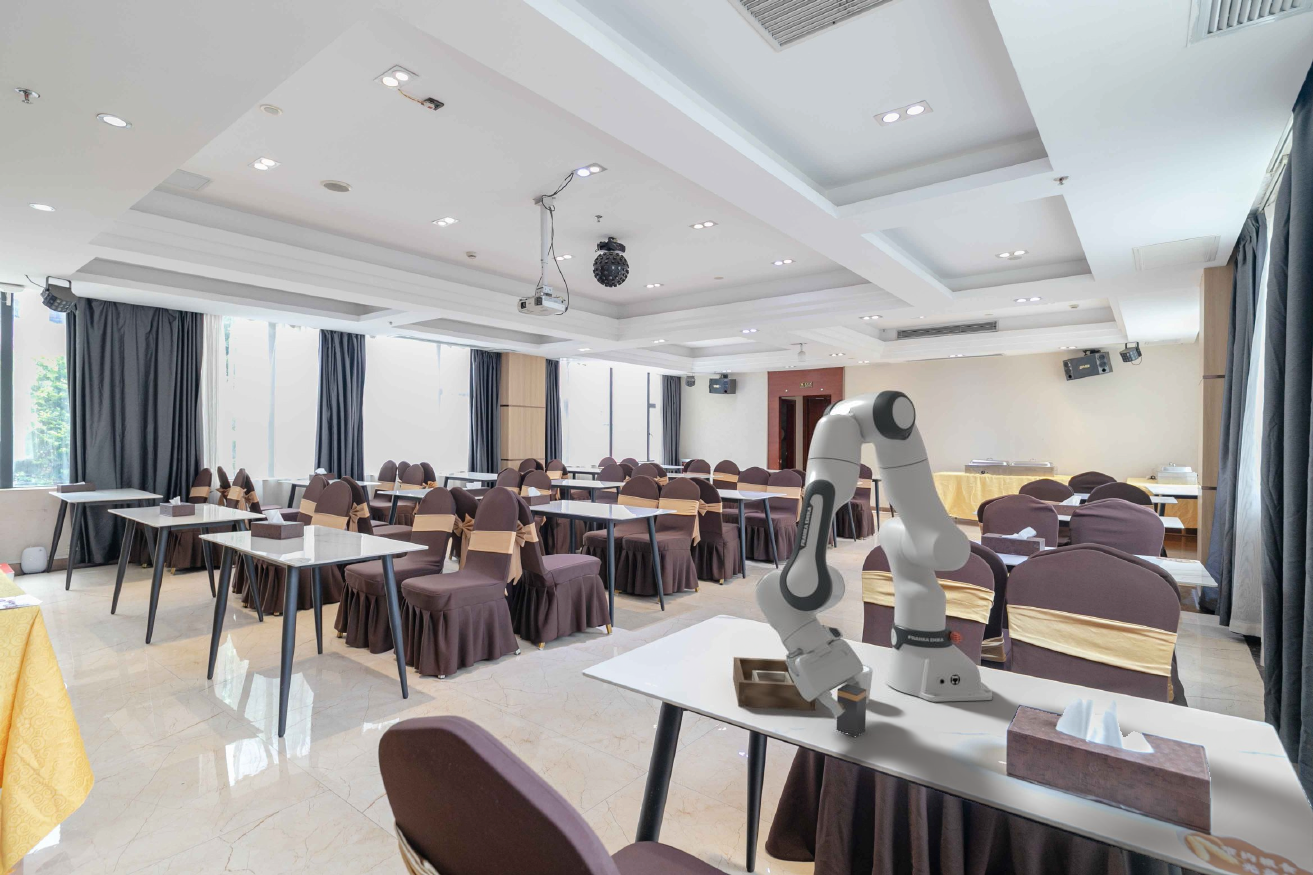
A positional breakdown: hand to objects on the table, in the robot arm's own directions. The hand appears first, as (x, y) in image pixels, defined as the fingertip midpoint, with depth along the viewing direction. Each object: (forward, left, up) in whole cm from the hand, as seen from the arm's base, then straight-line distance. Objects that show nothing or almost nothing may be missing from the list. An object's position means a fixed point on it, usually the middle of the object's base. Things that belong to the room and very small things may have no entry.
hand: (853, 707), depth 122 cm
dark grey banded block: (0, 0, -5) cm, 5 cm away
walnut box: (+13, -17, -5) cm, 22 cm away
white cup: (-5, -16, -5) cm, 18 cm away
